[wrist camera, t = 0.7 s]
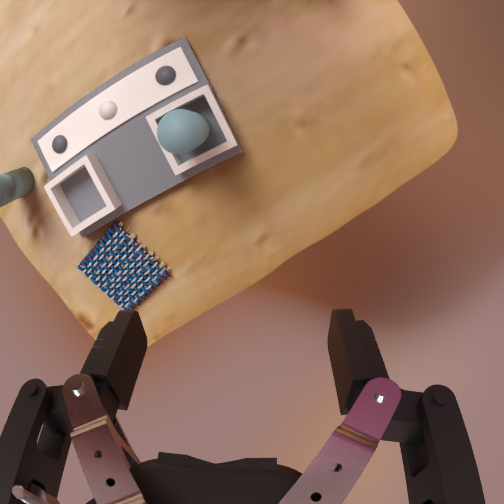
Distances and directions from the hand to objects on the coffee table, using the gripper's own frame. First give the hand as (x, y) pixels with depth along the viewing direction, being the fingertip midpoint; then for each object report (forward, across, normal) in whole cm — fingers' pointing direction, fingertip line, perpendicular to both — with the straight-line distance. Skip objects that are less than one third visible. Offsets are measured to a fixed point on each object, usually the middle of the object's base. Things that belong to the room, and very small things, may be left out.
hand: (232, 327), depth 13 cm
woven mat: (+26, +18, +13) cm, 34 cm away
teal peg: (+26, +32, -1) cm, 41 cm away
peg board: (+27, +15, -4) cm, 31 cm away
